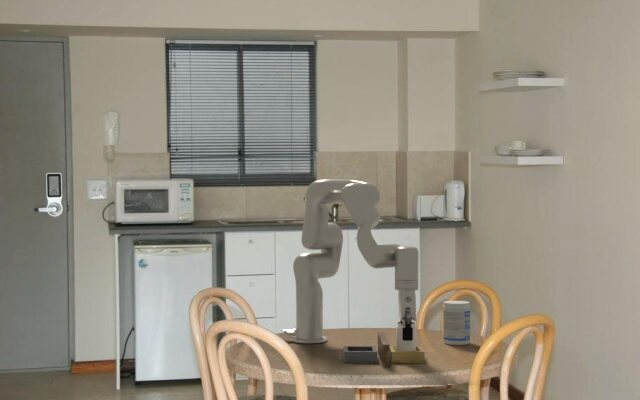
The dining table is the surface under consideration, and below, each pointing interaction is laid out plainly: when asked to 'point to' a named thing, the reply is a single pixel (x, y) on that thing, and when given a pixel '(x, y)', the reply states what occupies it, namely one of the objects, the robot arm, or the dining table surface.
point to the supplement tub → (456, 322)
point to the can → (405, 345)
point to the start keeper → (360, 354)
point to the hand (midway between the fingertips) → (406, 337)
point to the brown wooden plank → (383, 349)
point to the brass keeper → (406, 355)
